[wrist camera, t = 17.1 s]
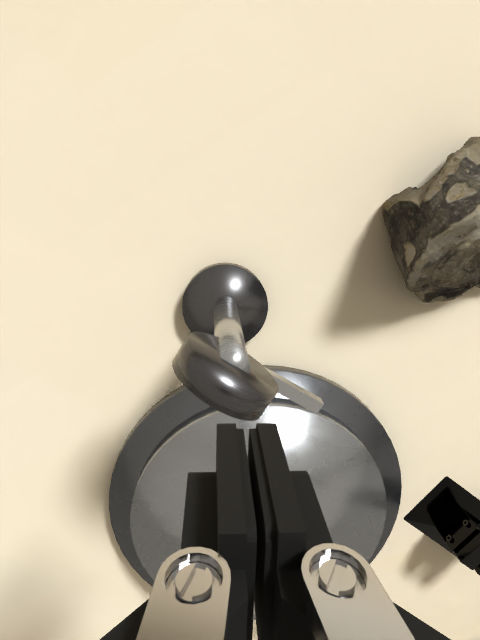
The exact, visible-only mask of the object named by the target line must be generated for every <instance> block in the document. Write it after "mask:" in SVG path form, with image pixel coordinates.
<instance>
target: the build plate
mask: <svg viewBox="0 0 480 640" xmlns="http://www.w3.org/2000/svg"><path fill="white" fill-rule="evenodd" d="M404 520H405V521H407V522H408V523H410V524H411V525H412V526H414V527H415V528H417V529H418V530H420V531H421V532H422V533H424V534H425V535H427V536H428V537H430V538H431V539H432V540H434V541H435V542H437V543H438V544H440V545H441V546H442V547H444V548H445V549H447V550H448V551H450V552H451V553H452V554H454V555H455V556H457V558H458V559H459V560H460V562H461V563H463V564H464V565H466V566H467V567H469V568H470V569H471V570H474V569H475V571H476V572H477V574H479V575H480V500H478V499H477V498H476V497H474V496H473V495H472V494H470V493H469V492H468V491H466V490H465V489H464V488H462V487H461V486H460V485H458V484H457V483H456V482H454V481H453V480H452V479H450V478H449V477H445V478H444V479H443V480H442V481H441V482H440V483H439V484H438V485H437V486H436V487H435V488H434V489H433V490H432V491H431V492H429V493H428V494H427V495H426V496H425V497H424V498H423V499H422V500H421V501H420V502H419V503H418V504H417V505H416V506H415V507H414V508H413V509H412V510H411V511H410V512H409V513H408V514H407V515H406V516H405V517H404Z"/></svg>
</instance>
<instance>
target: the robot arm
mask: <svg viewBox="0 0 480 640" xmlns="http://www.w3.org/2000/svg"><path fill="white" fill-rule="evenodd" d="M254 606H255V615H256V625H257V635H258V640H450V639H449V638H447V637H446V636H444V635H443V634H441V633H440V632H438V631H437V630H435V629H433V628H432V627H430V626H429V625H427V624H426V623H424V622H423V621H421V620H420V619H418V618H417V617H415V616H413V615H412V614H410V613H409V612H407V611H406V610H404V609H403V608H401V607H400V606H398V605H397V604H395V603H393V602H392V601H391V599H390V597H389V596H388V594H387V592H386V591H385V589H384V587H383V586H382V584H381V582H380V581H379V579H378V577H377V576H376V574H375V572H374V571H373V569H372V568H371V566H370V565H369V564H368V562H367V561H366V560H365V559H364V557H362V556H361V555H360V554H358V553H357V552H356V551H354V550H352V549H350V548H348V547H346V546H343V545H339V544H335V543H333V541H332V539H331V536H330V533H329V530H328V527H327V524H326V521H325V519H324V516H323V513H322V510H321V507H320V504H319V501H318V499H317V496H316V493H315V490H314V487H313V484H312V481H311V479H310V476H309V474H308V472H307V471H290V470H289V467H288V463H287V460H286V456H285V452H284V449H283V445H282V442H281V438H280V435H279V431H278V428H277V425H276V423H257V424H256V428H255V429H249V438H248V459H247V451H246V444H245V436H244V429H236V423H221V424H217V430H216V472H188V477H187V487H186V498H185V508H184V519H183V530H182V541H181V550H179V551H177V552H175V553H174V554H172V555H170V556H169V557H168V558H167V559H166V560H165V561H164V562H163V563H162V565H161V567H160V569H159V571H158V573H157V576H156V579H155V582H154V585H153V588H152V591H151V594H150V597H149V599H148V600H147V601H146V602H144V603H143V604H142V605H141V606H140V607H138V608H137V609H136V610H135V611H134V612H132V613H131V614H130V615H129V616H128V617H126V618H125V619H124V620H123V621H122V622H120V623H119V624H118V625H117V626H116V627H114V628H113V629H112V630H111V631H110V632H108V633H107V634H106V635H105V636H104V637H102V638H101V639H100V640H252V630H253V611H254Z"/></svg>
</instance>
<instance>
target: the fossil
mask: <svg viewBox="0 0 480 640" xmlns="http://www.w3.org/2000/svg"><path fill="white" fill-rule="evenodd" d="M382 212H383V217H384V221H385V224H386V226H387V228H388V232H389V235H390V238H391V247H392V250H393V253H394V255H395V257H396V260H397V263H398V265H399V268H400V270H401V273H402V275H403V278H404V280H405V282H406V286H407V288H408V289H409V290H410V291H412V292H415V294H416V295H417V297H418V298H419V299H420V300H422V301H423V302H434V301H447V300H452V299H455V298H456V297H458V296H461V295H462V294H463V293H465V292H466V291H467V290H469V289H470V288H472V287H473V286H476V287H479V288H480V137H471V138H469V140H468V141H466V143H465V144H464V146H463V147H462V148H461V149H460V150H458V151H456V152H455V153H452V154H450V155H449V156H448V157H447V160H446V163H445V166H444V167H443V168H442V169H441V170H440V171H439V173H438V174H437V175H436V176H435V177H433V178H432V179H431V180H430V181H429V182H427V183H426V184H425V185H423V186H422V187H420V188H417V187H414V188H411V187H408V188H407V189H405V190H403V191H402V192H400V193H399V194H395V195H393V196H392V197H390V198H389V199H388V200H386V202H385V203H384V205H383V206H382Z"/></svg>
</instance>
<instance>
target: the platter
mask: <svg viewBox="0 0 480 640" xmlns="http://www.w3.org/2000/svg"><path fill="white" fill-rule="evenodd" d="M221 423H236V429H244V436H245V444H246V451H247V459H248V438H249V429H255V428H256V424H257V423H276V425H277V428H278V431H279V435H280V438H281V442H282V445H283V449H284V452H285V456H286V460H287V463H288V467H289V470H290V471H307V472H308V474H309V476H310V479H311V481H312V484H313V487H314V490H315V493H316V496H317V499H318V501H319V504H320V507H321V510H322V513H323V516H324V519H325V521H326V524H327V527H328V530H329V533H330V536H331V539H332V541H333V543H335V544H339V545H343V546H346V547H348V548H350V549H352V550H354V551H356V552H357V553H358V554H360V555H361V556H362V557H364V559H365V560H366V561H367V562H368V561H369V559H370V558H371V556H372V555H373V553H374V551H375V549H376V547H377V545H378V543H379V541H380V538H381V535H382V532H383V529H384V524H385V519H386V505H387V502H386V493H385V487H384V483H383V480H382V476H381V474H380V472H379V469H378V467H377V465H376V463H375V461H374V460H373V458H372V456H371V455H370V453H369V452H368V450H367V449H366V447H365V446H364V444H363V443H362V441H361V440H360V438H359V437H358V436H357V435H356V434H355V433H354V432H353V431H352V430H351V429H350V428H349V427H348V426H347V425H345V424H344V423H343V422H342V421H341V420H339V419H338V418H336V417H335V416H333V415H331V414H330V413H328V412H326V411H324V410H322V409H320V411H319V412H318V413H317V414H315V413H313V412H312V411H310V410H308V409H306V408H304V407H302V406H301V405H299V404H297V403H295V402H293V401H291V400H290V399H285V398H278V397H274V399H273V400H272V402H271V403H270V405H269V406H268V408H267V409H266V410H265V412H264V413H263V415H262V416H261V418H259V419H258V420H255V421H245V420H240V419H236V418H233V417H231V416H228V415H226V414H224V413H221V412H219V411H218V410H216V409H214V408H212V407H209V408H207V409H205V410H203V411H201V412H199V413H197V414H195V415H193V416H191V417H190V418H188V419H187V420H185V421H183V422H182V423H180V424H179V425H178V426H176V427H175V428H174V429H173V430H172V431H170V432H169V433H168V434H167V435H166V436H165V437H164V438H163V439H162V440H161V441H160V442H159V444H158V445H157V446H156V447H155V448H154V450H153V451H152V453H151V454H150V456H149V457H148V459H147V460H146V462H145V464H144V466H143V468H142V470H141V473H140V476H139V479H138V482H137V485H136V489H135V492H134V496H133V500H132V506H131V513H130V529H131V535H132V541H133V544H134V547H135V550H136V553H137V556H138V557H139V559H140V561H141V563H142V565H143V567H144V568H145V570H146V571H147V572H148V574H149V575H150V577H151V578H152V579H153V580H154V581H155V579H156V576H157V573H158V571H159V569H160V567H161V565H162V563H163V562H164V561H165V560H166V559H167V558H168V557H169V556H170V555H172V554H174V553H175V552H177V551H179V550H181V541H182V530H183V519H184V508H185V498H186V487H187V477H188V472H216V430H217V424H221ZM253 619H256V615H253Z"/></svg>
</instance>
